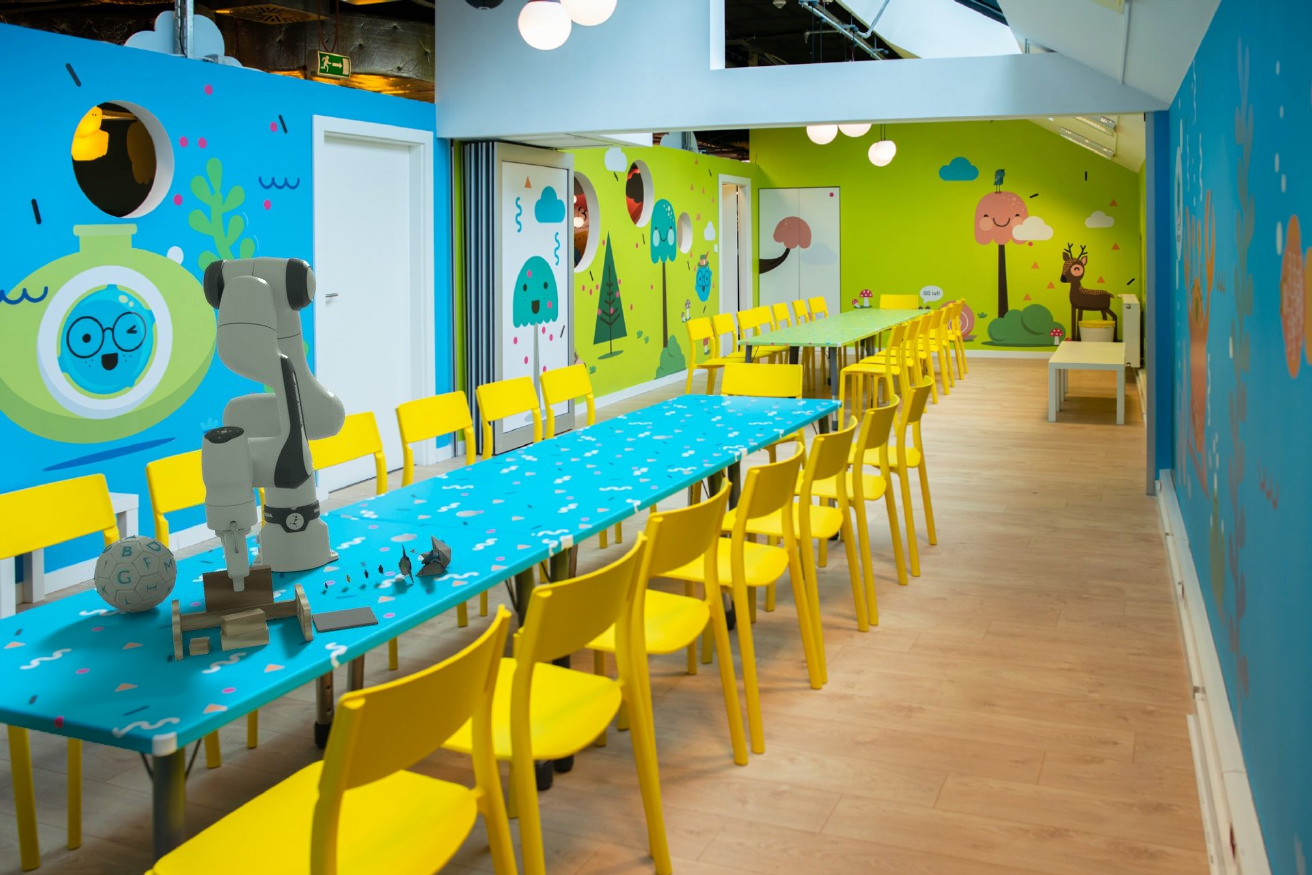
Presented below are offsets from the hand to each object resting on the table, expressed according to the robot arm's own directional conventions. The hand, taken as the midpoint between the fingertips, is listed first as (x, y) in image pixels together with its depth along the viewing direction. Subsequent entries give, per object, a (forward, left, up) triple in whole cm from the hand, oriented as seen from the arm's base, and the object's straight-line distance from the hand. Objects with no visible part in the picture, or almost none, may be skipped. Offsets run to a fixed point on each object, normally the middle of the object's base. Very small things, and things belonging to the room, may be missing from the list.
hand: (238, 587), depth 214 cm
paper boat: (-24, +41, -9) cm, 48 cm away
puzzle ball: (-22, -18, -9) cm, 30 cm away
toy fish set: (-17, +30, -8) cm, 36 cm away
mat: (+3, +18, -8) cm, 20 cm away
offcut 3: (+9, 0, -9) cm, 12 cm away
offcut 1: (+9, -8, -9) cm, 14 cm away
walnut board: (0, 0, -4) cm, 4 cm away
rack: (+4, 0, -8) cm, 9 cm away
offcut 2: (+9, 0, -6) cm, 11 cm away
